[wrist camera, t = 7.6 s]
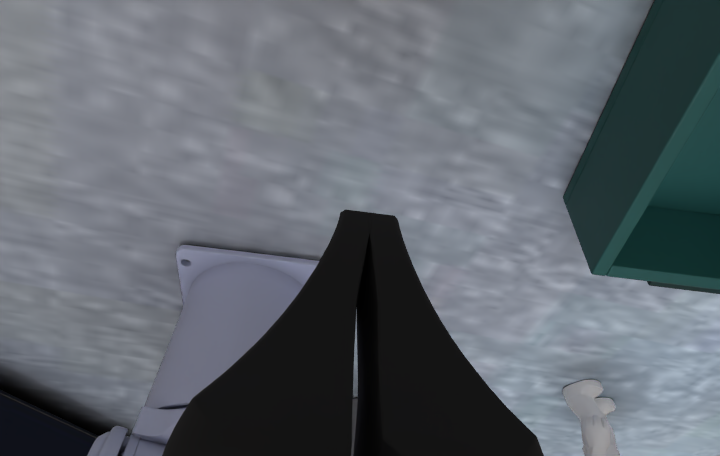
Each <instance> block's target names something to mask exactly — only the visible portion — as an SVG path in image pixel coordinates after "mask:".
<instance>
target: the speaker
mask: <svg viewBox="0 0 720 456" xmlns="http://www.w3.org/2000/svg"><path fill="white" fill-rule="evenodd" d="M97 437H99V436H98V435H95V434H93V433H91V432H89V431H87V430H85V429H83V428H81V427H78V426H76V425H74V424H72V423H70V422H68V421H66V420H63V419H61V418H59V417H57V416H55V415H53V414H51V413H49V412H46V411H44V410H42V409H40V408H38V407H36V406H34V405H31V404H29V403H27V402H25V401H23V400H21V399H19V398H17V397H14V396H12V395H10V394H8V393H6V392H4V391H2V390H0V456H87V455H88V453H89V451H90V449H91V447H92V445H93V443H94V441H95V440H96V438H97Z"/></svg>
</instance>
